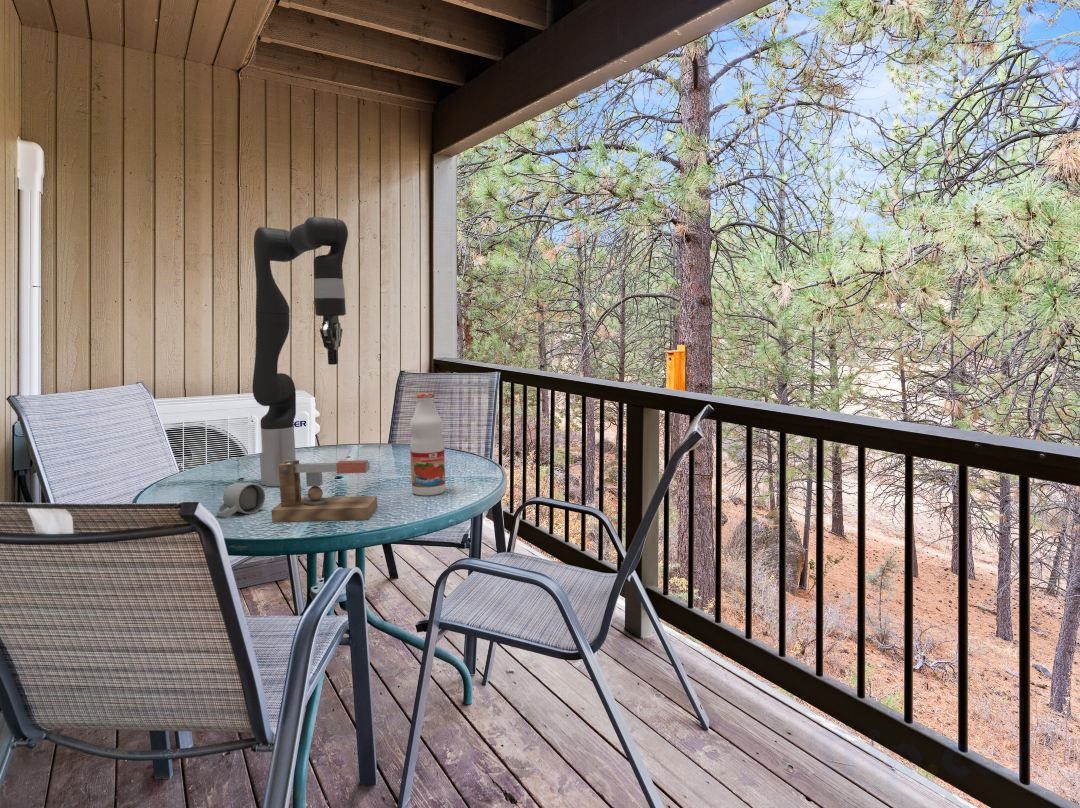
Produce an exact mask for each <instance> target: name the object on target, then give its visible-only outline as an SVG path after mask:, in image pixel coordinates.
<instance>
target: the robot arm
mask: <svg viewBox="0 0 1080 808" xmlns="http://www.w3.org/2000/svg"><path fill="white" fill-rule="evenodd" d="M348 237H349V231H348V226H347V224H346V223H345V222H344V220H342V219H339V218H331V217H325V216H324V217H321V216H310V217H308V218H307V219H306V220H305V221H304V222H303V223H301V224H298V225H296V226H295V227H293V228H292V229H291V231H290V230H287V229H282V228H281V229H280V228H273V227H266V226H259V227H258V228H257V229H256V230H255V233H254V237H253V254H254V255H253V257H254V270H255V283H256V284H255V289H256V290H255V292H256V293H255V294H256V295H255V296H256V297H255V353H254V354H255V357H254V369H253V376H252V386H251V387H252V388H251V389H252V394H253V398H254V400H255V401H256V402H257V404H259V405H261V406H262V407H268V411H267V413H266V414H265V415H264V416H263V417H262V418H260V434H261V448H262V451H261V452H260V453H259V464H260V465H259V466H260V481H261V485H262V486H263V485H264V486H266V487H280V480H279V464H285V462H284V461H286V460H297V459H296V457H297V456H296V442H295V441H296V439H295V427H294V426H295V425H294V423H295V419H296V413H297V408H296V407H297V402H296V401H297V400H296V399H297V397H296V395H297V393H296V386H295V382H294V380H293V378H292V377H291V376H290V375H289V374H287V373H283V372H278V364H279V357H280V354H281V351H282V349H283V347H284V345H285V342H286V340H287V338H288V336H289V333H290V326H291V325H290V319H291V318H290V317H291V316H290V315H291V314H290V312H291V310H290V306H289V303H288V301H287V299H286V297H285V296H284V294H283V293H282V291H281V289H280V288H279V286H278V285H277V283H276V281H275V279H274V277H273V271H272V266H271V262H279V263H280V262H281V263H287V262H291V261H294V260H295V259H297V258H298V257H299V256H301V255H302V254H304V253H305V252H309V251H314V250H317V249H320V248H321V247H324V246H325V247H329V248H330V249H329V252H328V254H322V255H317V256H316V257H314V258H313V274H314V275H313V277H314V283H313V284H314V285H313V295H314V296H313V297H314V310H315V311H314V313H315V316H317V317H322V323H321V327H320V328H319V333H320V336H321V340H322V343H323V347H324V348H325V349H326V350H327V351H326V352H327V363H328V365H329V366H330V365H331V366H333V365H338V364H339V356H338V355H339V352H338V350H339V349H340V347H341V342H342V337H343V336H342V335H343V327H342V324H341V323H340V319H339V317H343V316H345V315H346V309H347V308H346V292H345V284H344V274H343V273H344V272H343V270H344V269H343V263H344V262H343V261H344V255H345V250H346V246H347V243H348Z"/></svg>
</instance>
